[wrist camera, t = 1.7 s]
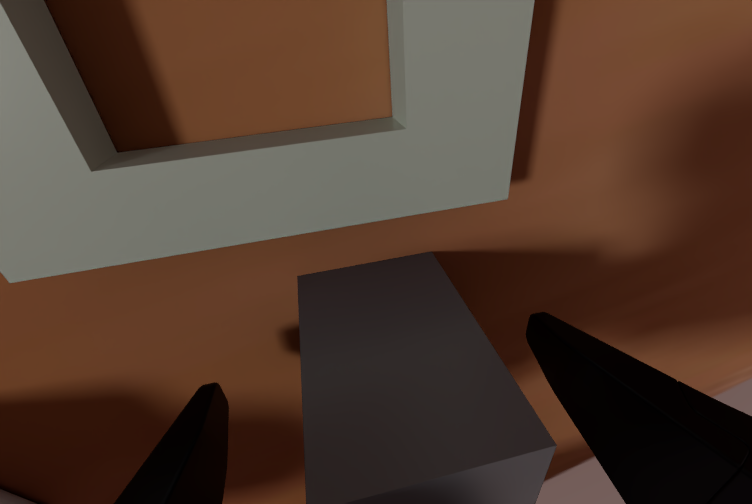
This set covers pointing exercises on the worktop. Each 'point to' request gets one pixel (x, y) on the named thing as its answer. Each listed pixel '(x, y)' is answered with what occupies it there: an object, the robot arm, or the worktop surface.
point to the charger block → (409, 394)
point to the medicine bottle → (12, 498)
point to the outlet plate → (254, 149)
